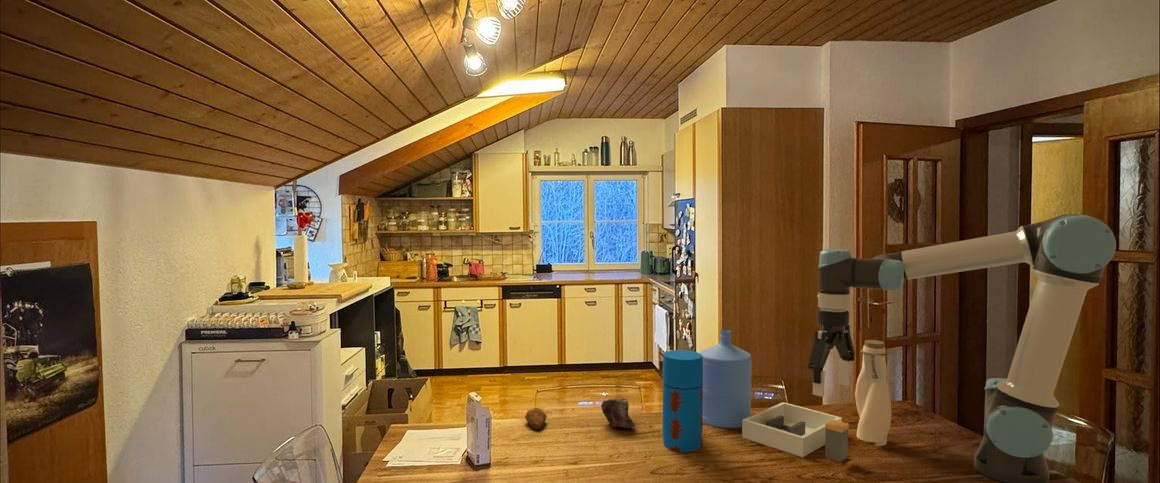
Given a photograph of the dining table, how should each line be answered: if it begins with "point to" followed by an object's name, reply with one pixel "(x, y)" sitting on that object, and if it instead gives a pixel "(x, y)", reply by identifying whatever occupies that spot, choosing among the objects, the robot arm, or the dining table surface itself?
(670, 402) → the thermos
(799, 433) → the inlet
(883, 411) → the water bottle
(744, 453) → the dining table surface
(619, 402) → the rock
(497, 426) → the dining table surface
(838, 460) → the grey tall block
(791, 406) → the box
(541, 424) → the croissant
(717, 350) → the water jug
